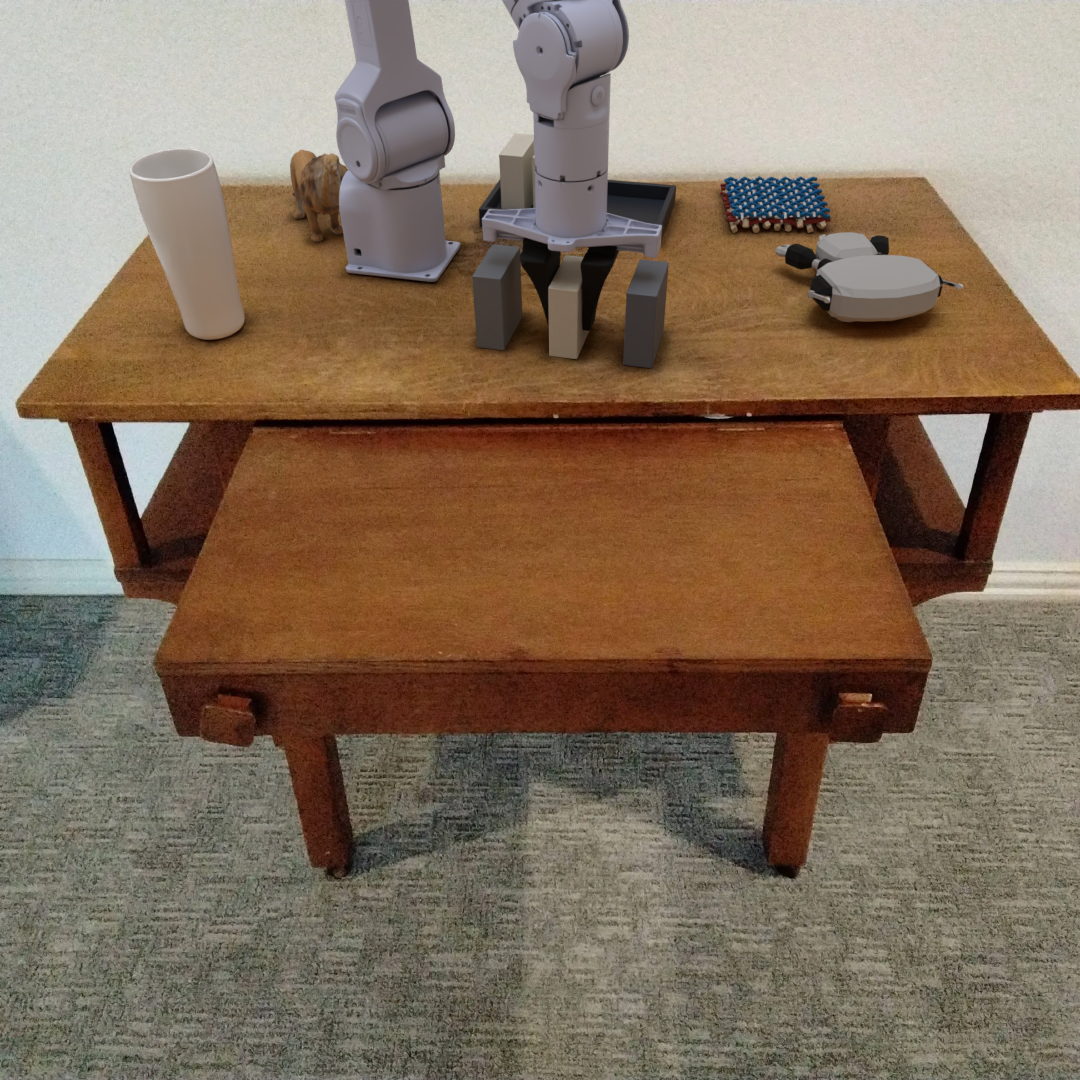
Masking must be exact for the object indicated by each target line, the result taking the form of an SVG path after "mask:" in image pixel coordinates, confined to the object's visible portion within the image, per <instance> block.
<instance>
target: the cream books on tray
mask: <svg viewBox="0 0 1080 1080" xmlns="http://www.w3.org/2000/svg"><path fill="white" fill-rule="evenodd" d="M498 159H499V160H498V162H499V164H498V165H499V180H500V184H501V205H502V209H528V208H531V206H532V205H533V208H536V207H535V161H534V134H528V133H518V132H517V133H513V135H512V137H511V138H510V139H509V141H508V142H507V143H506V145H505V146H504V148H502V150H501V151H500V153H499V154H498Z"/></svg>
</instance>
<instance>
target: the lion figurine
mask: <svg viewBox="0 0 1080 1080" xmlns="http://www.w3.org/2000/svg"><path fill="white" fill-rule="evenodd" d="M290 159H291V160H290V165H289V170H290V171H289V172H290V173H289V174H290V181H291V185H292V186H291V187H292V190H293V192H292V196H293V197H294V203H295V210H294V213H293V218H294V220H295V219H296V220H300V219H303V218H305V216H306V218H307V220H308V224H309V228H310V231H311V235H310V240H311V241H312V242H313V243H314V242H316V243H318V242H321V241H323V240H324V238H323V231H322V229H321V227H320V223H319V220H318V214H320V215H321V216H326V215H328V216H329V228H330V230H331V231H332V232H333V233H334V234H335V235H342V234H343V228H342V225H340V220H339V216H340V209H339V192H340V185H341V182H342V179H343V177H344V175H345V173H346V172H347V171H348V168H347V167H346V165H345V164H342V163H341V161H340V157H339V156H338V155H337V154H335V153H323V154H321V155H318V156H317V155H316V154H315V153H314V152H312V151H309V150H305V149H300V150H298V151H297V152H295V153H294V154H293V155H292V157H291V158H290ZM303 204H304V205H303ZM304 210H305V211H304ZM305 214H306V215H305Z"/></svg>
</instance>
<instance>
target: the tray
mask: <svg viewBox="0 0 1080 1080" xmlns="http://www.w3.org/2000/svg"><path fill="white" fill-rule="evenodd" d="M676 194H677V185H675V184H664V183H651V182H641V181H630V180H629V181H628V180H617V179H608V185H607V213H610V214H614V215H618V216H621V217H625V218H629V219H632V220H636V221H640V222H644V223H649V224H656V225H662V235H661V241H662V240H663V236H664V234H665V232H666V228H667V226H668V223H669V221H670V218H671V215H672V213H673V210H674V207H675V204H676V197H677V195H676ZM531 208H533V205H532V206H531ZM489 209H497V210H510V209H502V205H501V184H500V179H498V181H497V183H496V184H495V185H494V186H493V189H492V190H491V191H490V193H489V194H488V195H487V197H486V198H485V200H484V201H483V202H482V203H481V205H480V207H479V208H478V217H479V227H480V228H482V218H483V217H484V215H485V214H486V212H487V211H488V210H489Z"/></svg>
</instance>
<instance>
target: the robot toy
mask: <svg viewBox="0 0 1080 1080" xmlns="http://www.w3.org/2000/svg"><path fill="white" fill-rule="evenodd" d="M774 253H775V256H777V257H779V258H784V261H785V262H784V264H786V265H788V266H790V267H793V268H795V269H797V270H807V269H811V268H813V270H814V271H815V272H816V274H815V275H816V276H814V277H812V278H811V282H810V289H809V290H807V298H810V299H812V300H813V301H814V302H815V303H816V304H817V306H819V308H820V309H822V311H825V312H827V314H828V315H829V316H830V317H832V318H834V319H836V320H838V321H840V322H843V323H854V322H892V321H897V320H902V319H907V318H911V317H915V316H918V315H922V314H924V313H926V312H929V310H931V309H933V308H934V307H935V306H936V305H937V302H938V298H939V297H941V295H942V290H943V287H944V285H945V286H949V287H952V288H955V289H957V290H962V289H964V285H963V284H962V283H956V282H953V281H948V280H945V279H944V277H942V276H941V275H940V274H939V273H937V272H936V271H935V270H934V269H932V267H930V266H929V265H928V264H926V263H925V262H923V261H922V260H921V259H920V258H916V257H911V256H906V255H897V254H890V239H889V237H887V236H885V235H872V236H870V238H868V237H866V235H865V234H864V233H860V232H854V231H853V232H852V231H849V232H846V231H845V232H841V231H840V232H837V233H829V234H828V235H826V233H823V234H821V235H819V236H818V241H817V242H816V247H815V251H814V250H813V249H812V248H810V247H808V246H805V245H803V244H800V243H797V242H796V243H792V244H787V243H786V244H782V245H780V246H777V247H776V248H775V250H774Z"/></svg>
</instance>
